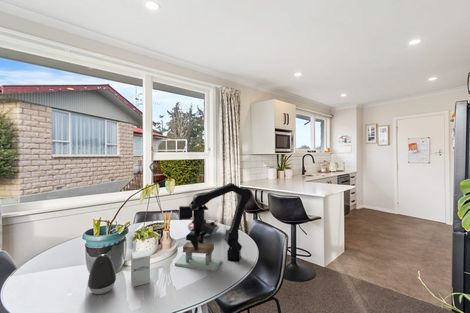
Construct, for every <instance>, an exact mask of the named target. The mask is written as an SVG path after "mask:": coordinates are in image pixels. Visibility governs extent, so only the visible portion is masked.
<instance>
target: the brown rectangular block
mask: <svg viewBox="0 0 470 313" xmlns="http://www.w3.org/2000/svg"><path fill="white" fill-rule="evenodd" d="M214 250H215V243H212V242H211V243H210V242H209V243H208V242H203V243H199V244H198V250H197V251H195V249H194V247H193V245H192V243H191V241H186V242H185V243H184V245H183V246H182V253H186V252H187V253H192V254H202V255H203V254H205V255H206V254H211V255H212V254H213V252H214Z"/></svg>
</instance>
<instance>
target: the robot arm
mask: <svg viewBox="0 0 470 313" xmlns="http://www.w3.org/2000/svg"><path fill="white" fill-rule="evenodd" d="M232 192H234V193H235V194H237V196H236V199H237V201H236V202H237V204H236V207H235V211H234V214H233V217H232V221H231V224H230V228H228V229H225V234H224V235H223V237H224V241H225V243H226V244H227V245H228V249H227V253H226V254H227V261H231V262H240V260H241V259H242V255H241V252H242V248H243V246H242V244H241V243H240V242H239V229H240V226H241V223H242V219H243V215H244V212H245V210H246V209H245V208H246V206H247V204H248V203H249V201H250V200H251V198H252V190H250V189H248V188H246V187H244V186H242V187H241V186H238V185H236V184H235V183H232V182H229V183H227V184H225V185H222V186H220V187H217V188H215V189H212V190H210V191H204V192H198V193H196V194H194V195H193V197H192V200H191V202H190V203H189V204H188V205H185V206H183V205H180V206H179V207H178V220H179V221H182V220H191V219H192V218H193V220H191V222H192V223H193V229H192V231H194V232H189V233H188V234H186V236H185V240H186V241H188V242H191V243H192V245H193V247H194V249H195V251H197V250H198V244H199V243H204V239H205V237H204V236H205V234H206V233H208V234H209V236H212V235H213V234H212V233H213V232H214V230H215V228H216V227H215V223H214V222H211V223H210V224H209V223H206V220H207V219H206V218H205V211H206V210H207V211H208V210H209V208H208V206H207V204H208V203H209V202H210V201H211V200H213V199H216V198H219V197H221V196H224V195H226V194H228V193H232Z"/></svg>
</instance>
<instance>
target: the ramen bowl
mask: <svg viewBox="0 0 470 313" xmlns="http://www.w3.org/2000/svg"><path fill="white" fill-rule="evenodd" d="M211 222H214V223H215V227H216V228H215V230H214V232H213V233H212V235H214V234H215V233H216V232H217V231H218V230H219V228H220V226H221V224H220V223H219V222H218V221H217V219H215V220H209V219H206V223H209V224H210V223H211ZM186 227H187V229H188V230H189V231H190V232H194V231H192V229H193V223H192V221H191V222H188V223H187V225H186ZM190 232H189V233H190ZM209 236H210V235H209V234H208V233H206V234H205V236H204V238H207V237H209Z"/></svg>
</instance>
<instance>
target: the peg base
mask: <svg viewBox="0 0 470 313" xmlns="http://www.w3.org/2000/svg"><path fill="white" fill-rule="evenodd" d="M221 263H222V259H221V258H213V257H212V254H205V257H204V256H196V255H193V253H187V252H185V254H182V255H181V256H180V257H179V259H177V260H175V262H174V266H178V267H183V268H191V269H199V270H205V271H213V272H216V271H217V270H218V268H219V266H220V265H221Z"/></svg>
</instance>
